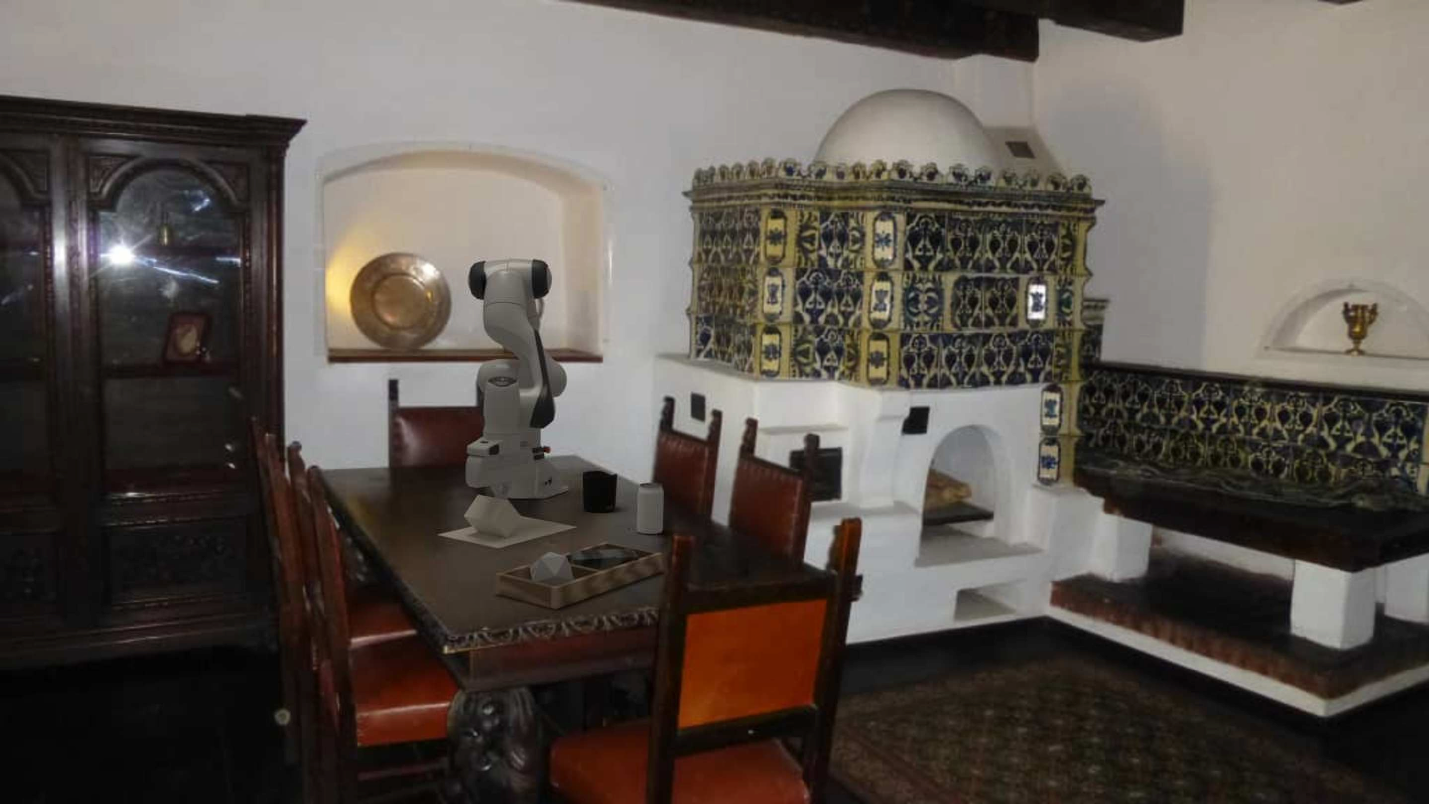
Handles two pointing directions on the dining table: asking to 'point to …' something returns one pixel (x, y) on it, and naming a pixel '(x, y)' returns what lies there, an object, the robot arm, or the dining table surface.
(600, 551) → the stone block
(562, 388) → the robot arm
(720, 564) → the dining table surface
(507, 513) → the plain beige block
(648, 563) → the walnut tray
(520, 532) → the felt mat
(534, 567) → the die
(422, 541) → the dining table surface
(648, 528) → the can
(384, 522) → the dining table surface
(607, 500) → the pen holder
